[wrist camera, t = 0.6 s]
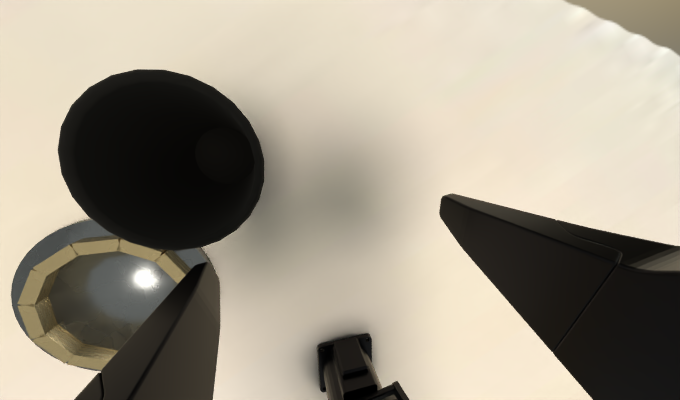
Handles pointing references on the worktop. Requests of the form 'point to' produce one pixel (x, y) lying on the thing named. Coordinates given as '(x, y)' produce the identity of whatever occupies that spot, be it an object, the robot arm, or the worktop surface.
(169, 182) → the cup
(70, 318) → the flange plate
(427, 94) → the worktop surface
